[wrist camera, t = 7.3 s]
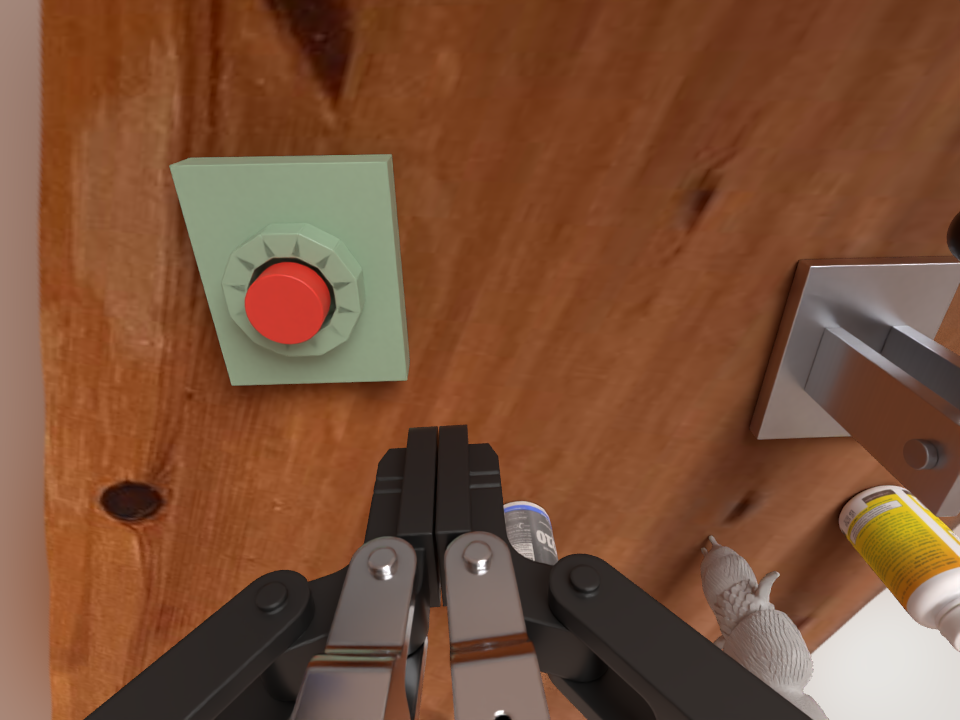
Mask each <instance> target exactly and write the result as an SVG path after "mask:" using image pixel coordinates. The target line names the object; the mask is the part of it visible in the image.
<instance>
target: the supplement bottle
mask: <svg viewBox="0 0 960 720" xmlns="http://www.w3.org/2000/svg"><path fill="white" fill-rule="evenodd" d="M839 526H840V529H841V531H842V533H843V534H844V535H845V537H846V538H847V539H848V540H849V542H850V543H851V544H852V545H853V546H854V548H855V549H856V550H857V551H858V553H859V554H860V555H861V556H862V558H863V559H864V560H865V561H866V562H867V564H868V565H869V566H870V567H871V569H872V570H873V571H874V572H875V573H876V575H877V576H878V577H879V578H880V579H881V581H882V582H883V583H884V584H885V585H886V587H887V588H888V589H889V590H890V591H891V593H892V594H893V595H894V596H895V598H896V599H897V600H898V601H899V603H900V604H901V605H902V606H903V608H904V609H905V610H906V611H907V612H908V614H909V615H910V616H911V617H912V618H913V619H914V620H915V621H916V622H918V623H919V624H920V625H922V626H925V627H927V628H931V629H938V630H939V631H940V633H941V634H942V636H944V637H945V638H946V639H947V640H948V641H949V642H950V644H951V645H952V646H953V647H954V648H955V649H956V650H957V651H959V652H960V538H959V537H958V536H957V535H956V534H955V533H954V532H953V531H952V530H951V529H949V528H948V527H947V526H946V525H945V524H944V523H943V522H942V521H941V520H940V519H939V518H938V517H936V516H935V515H934V514H933V513H932V512H931V511H930V510H928V509H927V508H926V507H925V506H924V505H923V504H922V503H921V502H920V501H919V500H918V499H917V498H916V497H915V496H914V495H913V494H912V493H911V492H909V491H908V490H906V489H904V488H902V487H898V486H892V485H885V486H878V487H873V488H870V489H868V490H865V491H863V492H861V493H859V494H857V495H856V496H855V497H853V498H852V499H851V500H850V501H849V502H848V503H847V504H846V505H845V506H844V508H843V509H842V511H841V513H840V516H839Z"/></svg>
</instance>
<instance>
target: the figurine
mask: <svg viewBox="0 0 960 720" xmlns="http://www.w3.org/2000/svg"><path fill="white" fill-rule="evenodd" d="M709 540H710V542H711V543H712V545H713V546H712V549H711V550H710V551H709V553H708V552H707V549H706V548H701V551H702V553H703V555H704V559H703V561H702V563H701V577H702V586H703V592H704V595H705V597H706V599H707V601H708V604H709V605H710V607H711V609H712V610H713V612H714V614H715V615H716V618H717V619H716V620H717V621H718V624H719V626H720V630H721V633H722V636H720V637H718V639H717V640H716V641H715V642H714V643H713V644H714V645H716V646H717V647H718V648H720V649H723V651H724V652H725V653H726V654H728V655H729V656H730V657H732V658H733V659H734V660H736V661H737V662H738V663H739V664H741V665H742V666H743V667H745V668H746V669H747V670H749V671H750V672H751V673H753V674H754V675H755V676H757V677H758V678H759V679H760V680H762V681H763V682H764V683H766V684H767V685H768V686H770V687H771V688H772V689H774V690H775V691H776V692H778V693H779V694H780V695H781V696H783V697H784V698H785V699H787V700H788V701H789V702H791V703H792V704H793V705H795V706H796V707H797V708H799V709H800V710H801V711H803V712H804V713H805V714H806V715H808V716H809V717H810V718H812V719H813V720H829V718H827V716H826V715H825V713H824V711H823V710H822V709H821V708H820V706H819V705H818V704H817V703H816V701H815V700H814V699H813V698H812V697H811V696H809V695H806V694H804V693H803V688H804V687H805V686H806V685H807V683H808V682H809V681H810V679H811V677H812V673H813V668H812V667H813V661H812V659H811V655H810V653H809V651H808V649H807V646H806V644H805V642H804V640H803V638H802V635H801V634H800V631H799V630H798V629H797V627H796V626H795V624H793V622H792V620H791V619H790V618H788V616H787V615H786V614H785V613H784V612H781V611H778V610H775V608H774V605H773V604H771V603H770V602H769V595H770V592H771V587H772V584H773V582H774V581H775V579H776V578H778V577H779V576H780V574H779V573H778V572H776V571H773V572H770V573H768V574H766V576H765V577H763V578H762V579H761V581H760V583H759V585H758V584H757V580H756V577H755V575H754V573H753V571H752V569H751V568H750V566H749V564H748V563H747V561H746V560H745V559H744V558H743V557H741V556H740V555H738V554H737V553H736V552H735V551H733V550H732V549H730V548H729V547H726V546H721V545H720V544H718V543H717V542H716V540H715V538H714V537H713V536H709Z"/></svg>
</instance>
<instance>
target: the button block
mask: <svg viewBox="0 0 960 720" xmlns="http://www.w3.org/2000/svg"><path fill="white" fill-rule="evenodd" d="M170 170H171V174H172V177H173V181H174V184H175V188H176V191H177V195H178V198H179V202H180V205H181V209H182V212H183V216H184V219H185V223H186V227H187V230H188V234H189V237H190V241H191V244H192V248H193V251H194V255H195V258H196V262H197V265H198V269H199V272H200V276H201V279H202V283H203V286H204V290H205V293H206V297H207V300H208V304H209V308H210V311H211V315H212V318H213V322H214V325H215V329H216V332H217V336H218V339H219V343H220V346H221V350H222V353H223V357H224V360H225V364H226V367H227V371H228V374H229V378H230V381H231V385H232V386H239V385H273V384H307V383H340V382H374V381H406V380H407V377H408V370H409V364H410V358H409V346H408V335H407V323H406V312H405V300H404V289H403V277H402V266H401V254H400V242H399V231H398V219H397V208H396V196H395V185H394V173H393V162H392V155H391V154H382V155H324V156H266V157H208V158H188V159H186V160H183V161H180V162H178V163H175V164H172V165H170ZM281 262H294V263H299V264H302V265H304V266H307V267H309V268H310V269H312V270H313V271H315V272H316V273H317V274H318V275H319V276H320V277H321V278H322V279H323V281H324V282H325V284H326V285H327V287H328V290H329V293H330V300H331V302H330V309H329V312H328V314H327V316H326V318H325V320H324V322H323V324H322V326H321V328H320V330H319V331H318V332H317V334H316V335H314V336H313V337H312V338H311V339H309V340H307V341H305V342H302V343H298V344H282V343H278V342H275V341H272V340H270V339H268V338H266V337H264V336H263V335H262V334H260V333H259V332H258V331H257V330H256V329H255V328H254V327H253V326H252V324H251V323H250V321H249V319H248V317H247V314H246V311H245V296H246V293H247V291H248V289H249V287H250V286H251V284H252V283H253V282H254V281H255V280H256V279H257V278H258V277H259V276H260V274H261V273H262V272H263V271H264V270H265V269H267V268H268V267H270V266H272V265H274V264H277V263H281Z"/></svg>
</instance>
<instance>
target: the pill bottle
mask: <svg viewBox="0 0 960 720" xmlns="http://www.w3.org/2000/svg"><path fill="white" fill-rule="evenodd" d="M503 506H504V515H505V524H506V532H507V537H508V540H509V542H510V543H511V545H512V546H513V548H514V549H515V550H516V551H517V552H519V553H520V554H521V555H523V556H524V557H526V558H528V559H531V560H533V561H537V562H541V563H545V564H549V565H555V564H556V563H557V562H558V557H557V552H556V547H555V542H554V538H553V533H552V528H551V523H550V519H549V517H548V514H547V513H546V512H545V510H544V509H543V508H542V507H540V506H538V505H536V504H534V503H531V502H526V501H517V502H511V503H508V504H505V505H503Z"/></svg>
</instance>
